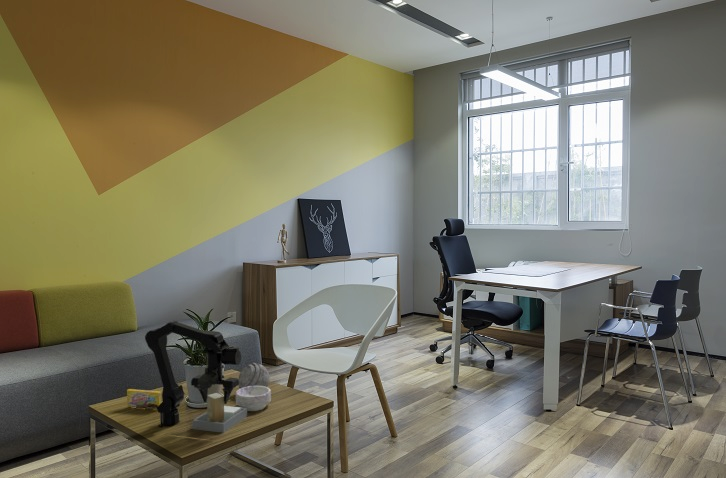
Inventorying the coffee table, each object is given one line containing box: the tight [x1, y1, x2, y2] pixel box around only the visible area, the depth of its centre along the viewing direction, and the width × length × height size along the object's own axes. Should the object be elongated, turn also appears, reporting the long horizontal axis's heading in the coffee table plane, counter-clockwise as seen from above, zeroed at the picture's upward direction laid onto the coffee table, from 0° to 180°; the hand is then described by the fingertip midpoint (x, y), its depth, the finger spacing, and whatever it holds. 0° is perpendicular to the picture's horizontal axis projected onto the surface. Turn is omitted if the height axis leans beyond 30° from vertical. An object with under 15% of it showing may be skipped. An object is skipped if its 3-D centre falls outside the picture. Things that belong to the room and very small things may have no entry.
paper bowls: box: [235, 386, 272, 412], centre depth 232 cm, size 15×15×8 cm
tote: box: [191, 408, 248, 433], centre depth 215 cm, size 14×18×4 cm
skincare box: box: [206, 392, 225, 423], centre depth 211 cm, size 6×4×12 cm
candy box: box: [126, 388, 162, 411], centre depth 234 cm, size 16×2×8 cm, turn 76°
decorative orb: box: [237, 362, 270, 389], centre depth 251 cm, size 15×14×15 cm
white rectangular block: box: [224, 405, 241, 421], centre depth 219 cm, size 10×6×4 cm, turn 73°
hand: (215, 403), depth 211 cm, fingers open, 9 cm apart
